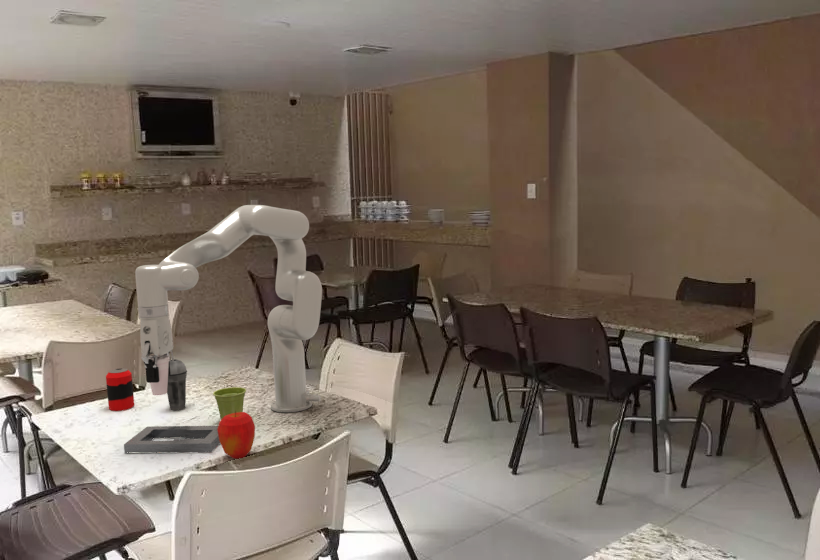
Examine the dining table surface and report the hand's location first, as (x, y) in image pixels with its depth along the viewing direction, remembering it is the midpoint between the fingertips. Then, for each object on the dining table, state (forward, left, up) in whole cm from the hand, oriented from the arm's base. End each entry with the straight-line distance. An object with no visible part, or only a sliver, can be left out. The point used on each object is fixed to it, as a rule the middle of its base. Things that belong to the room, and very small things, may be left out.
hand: (158, 378), depth 190 cm
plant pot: (-13, -18, -18) cm, 29 cm away
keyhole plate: (-5, 0, -18) cm, 18 cm away
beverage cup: (+8, -31, -18) cm, 36 cm away
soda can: (+27, -33, -18) cm, 46 cm away
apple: (-24, +10, -18) cm, 32 cm away
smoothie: (0, 0, -4) cm, 4 cm away
